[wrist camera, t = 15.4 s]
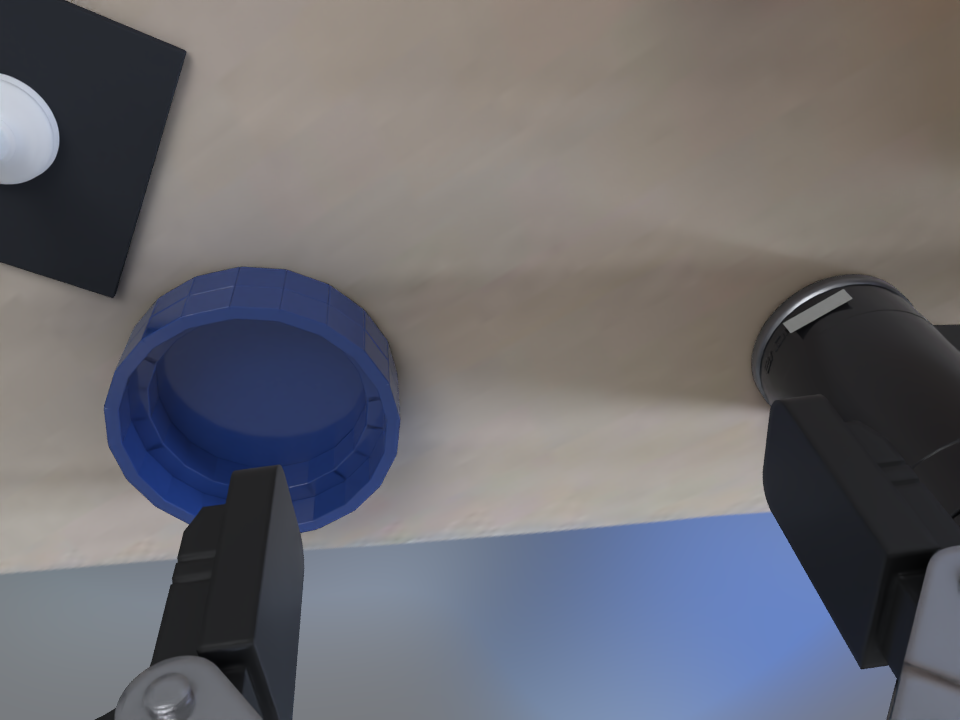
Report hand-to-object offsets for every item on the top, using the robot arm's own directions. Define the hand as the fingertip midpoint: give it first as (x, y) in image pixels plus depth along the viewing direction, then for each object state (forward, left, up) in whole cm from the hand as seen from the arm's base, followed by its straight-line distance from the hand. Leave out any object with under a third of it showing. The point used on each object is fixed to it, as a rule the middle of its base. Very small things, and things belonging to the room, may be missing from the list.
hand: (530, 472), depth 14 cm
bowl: (+1, +20, -30) cm, 36 cm away
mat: (+16, +11, -30) cm, 36 cm away
